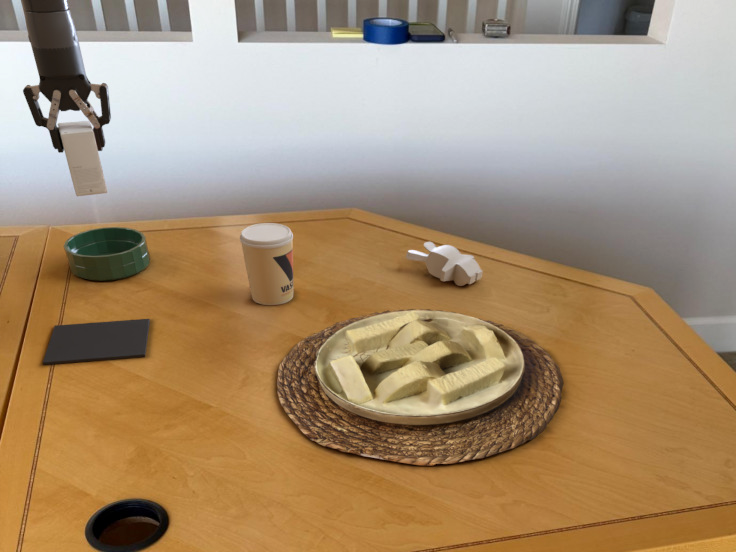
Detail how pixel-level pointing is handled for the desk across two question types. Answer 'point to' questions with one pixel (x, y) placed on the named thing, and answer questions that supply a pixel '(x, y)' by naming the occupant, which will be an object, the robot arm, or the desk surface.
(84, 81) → the robot arm
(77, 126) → the small box
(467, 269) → the bunny figurine
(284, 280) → the coffee cup
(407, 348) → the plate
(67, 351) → the mat
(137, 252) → the bowl
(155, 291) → the desk surface
